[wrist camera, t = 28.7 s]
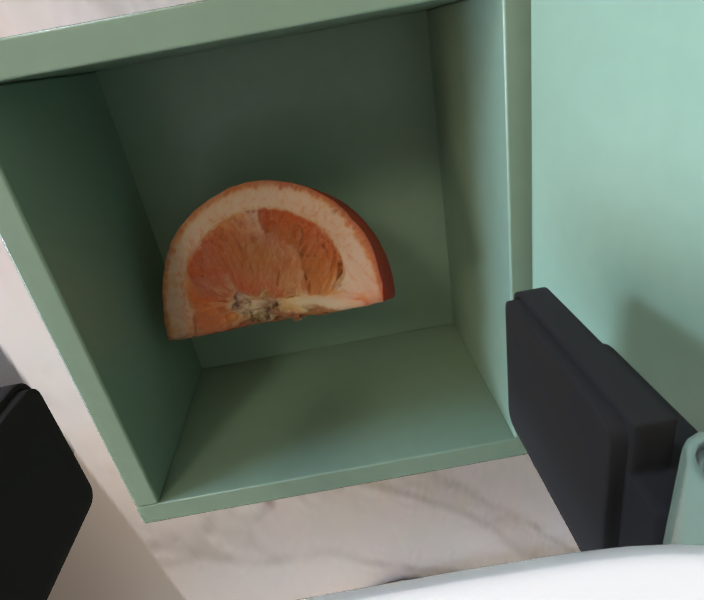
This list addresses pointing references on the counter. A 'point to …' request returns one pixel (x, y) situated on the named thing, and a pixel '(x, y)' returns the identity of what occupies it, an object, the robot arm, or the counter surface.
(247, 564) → the counter surface
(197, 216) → the fruit slice
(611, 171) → the bin lid
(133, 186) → the bin
